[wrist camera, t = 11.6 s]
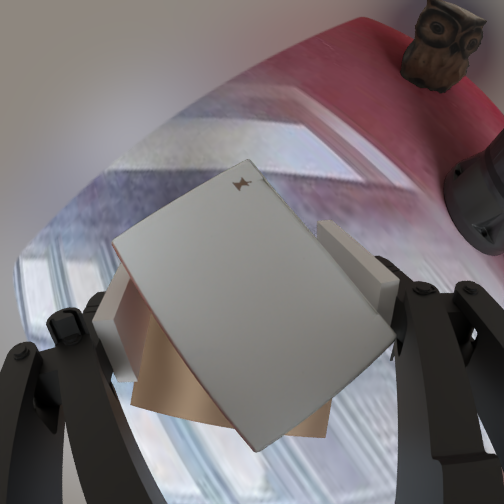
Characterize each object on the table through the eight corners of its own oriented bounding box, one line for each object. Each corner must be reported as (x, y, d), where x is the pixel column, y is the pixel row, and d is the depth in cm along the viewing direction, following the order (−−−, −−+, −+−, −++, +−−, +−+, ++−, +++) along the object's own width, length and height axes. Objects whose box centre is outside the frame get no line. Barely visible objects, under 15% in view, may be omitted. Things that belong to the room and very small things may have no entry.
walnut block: (326, 294, 32) (344, 277, 27) (309, 426, 27) (325, 437, 22) (176, 268, 33) (165, 247, 27) (149, 399, 28) (130, 404, 22)
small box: (167, 306, 19) (103, 235, 9) (240, 258, 20) (246, 150, 11) (243, 413, 17) (254, 461, 7) (318, 358, 18) (403, 337, 8)
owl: (456, 91, 49) (495, 25, 31) (436, 107, 46) (482, 27, 27) (411, 56, 53) (441, -12, 34) (384, 67, 49) (416, -15, 30)
